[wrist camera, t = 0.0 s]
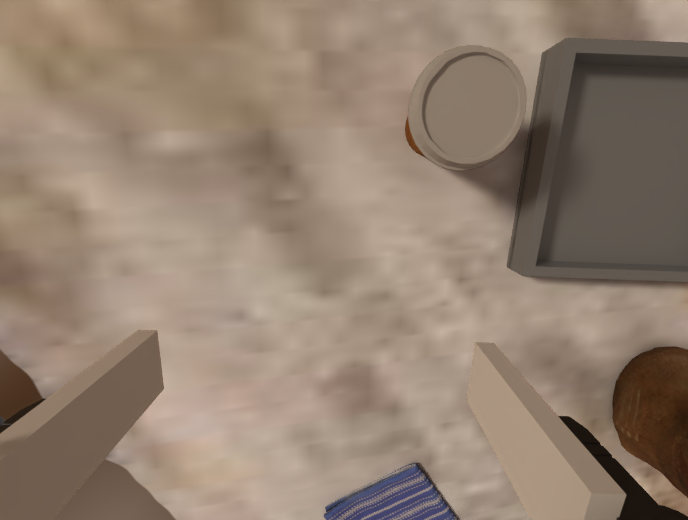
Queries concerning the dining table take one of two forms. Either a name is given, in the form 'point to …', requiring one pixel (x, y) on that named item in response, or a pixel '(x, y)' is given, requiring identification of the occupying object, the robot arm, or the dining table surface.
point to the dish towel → (393, 499)
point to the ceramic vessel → (655, 411)
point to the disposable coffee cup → (466, 107)
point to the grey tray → (606, 164)
